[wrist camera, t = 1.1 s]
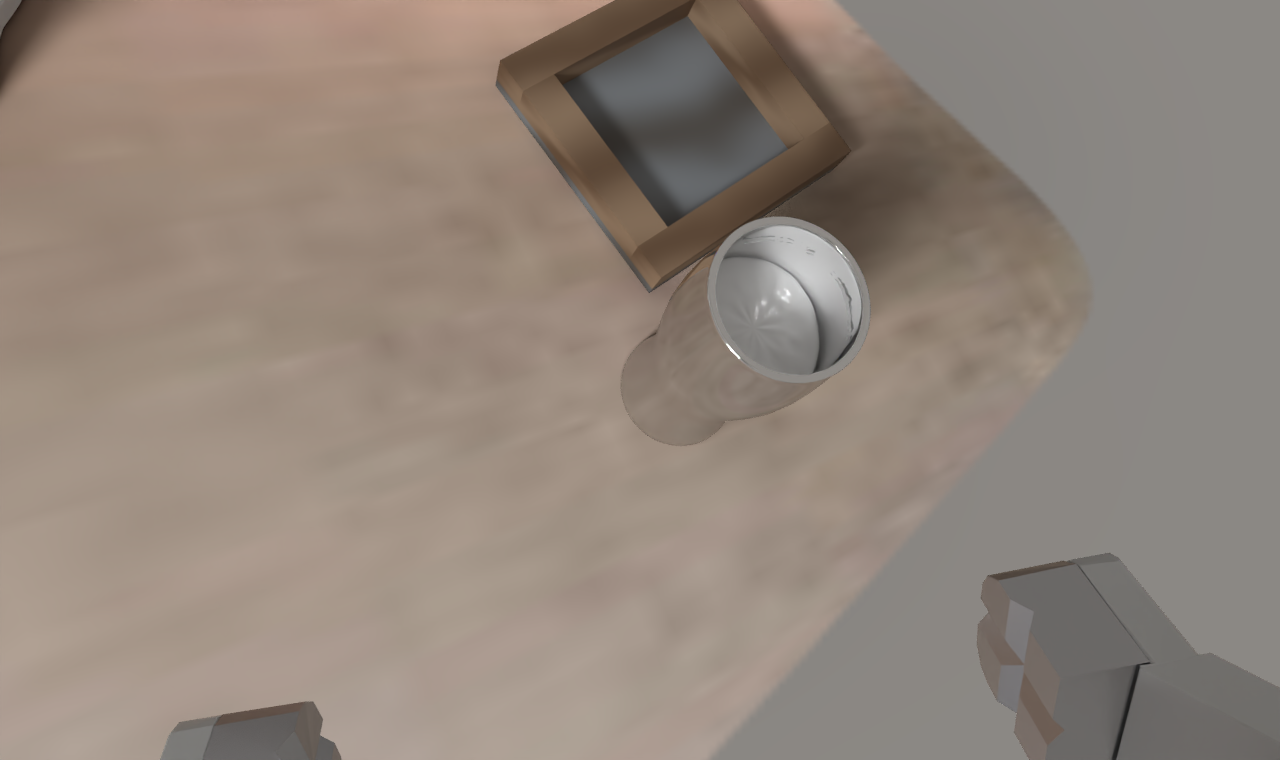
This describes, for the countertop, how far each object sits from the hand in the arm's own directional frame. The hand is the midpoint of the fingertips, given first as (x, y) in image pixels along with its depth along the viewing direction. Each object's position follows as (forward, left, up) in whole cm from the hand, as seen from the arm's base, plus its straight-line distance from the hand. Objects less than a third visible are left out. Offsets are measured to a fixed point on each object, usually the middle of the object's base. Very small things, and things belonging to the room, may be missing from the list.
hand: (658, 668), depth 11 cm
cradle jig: (-15, +25, -34) cm, 44 cm away
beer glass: (-3, +16, -34) cm, 38 cm away
